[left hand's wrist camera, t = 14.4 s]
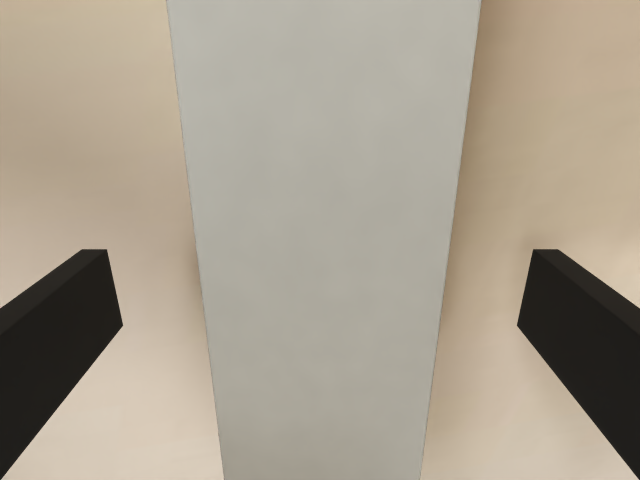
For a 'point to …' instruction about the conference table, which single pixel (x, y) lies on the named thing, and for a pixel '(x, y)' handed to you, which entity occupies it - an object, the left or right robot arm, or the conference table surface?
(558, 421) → the conference table surface
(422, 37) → the bar
